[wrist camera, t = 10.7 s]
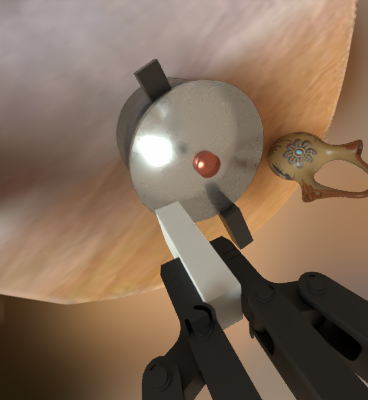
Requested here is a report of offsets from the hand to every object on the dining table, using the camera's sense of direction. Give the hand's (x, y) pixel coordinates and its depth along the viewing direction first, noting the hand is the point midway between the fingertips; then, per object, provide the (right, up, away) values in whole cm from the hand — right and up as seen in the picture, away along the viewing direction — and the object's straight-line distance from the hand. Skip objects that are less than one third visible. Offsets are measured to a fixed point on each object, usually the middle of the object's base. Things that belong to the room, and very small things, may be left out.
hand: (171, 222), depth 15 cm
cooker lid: (+5, +4, +24) cm, 25 cm away
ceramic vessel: (+25, +15, +46) cm, 54 cm away
